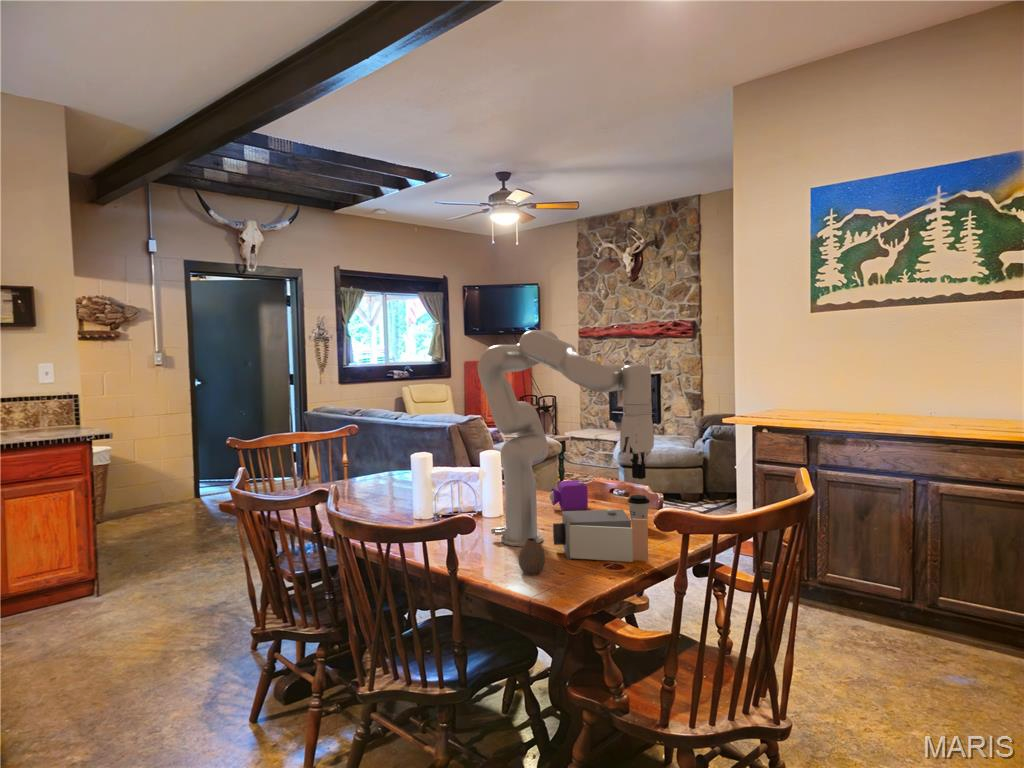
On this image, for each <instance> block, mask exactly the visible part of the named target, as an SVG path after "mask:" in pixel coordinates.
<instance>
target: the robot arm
mask: <svg viewBox="0 0 1024 768" xmlns="http://www.w3.org/2000/svg"><path fill="white" fill-rule="evenodd" d="M539 364H542V365H543V366H545V367H548V368H550V369H553V370H554V371H556V372H558V373H561V375H562V376H564V377H565V378H566V379H568V380H569V381H571V382H572V383H574V384H576V385H578V386H580V387H583V388H585V389H587V390H588V391H589V390H590V391H592V392H595V393H599V394H603V393H610V392H617V391H622V410H623V411H622V417H621V422H620V433H619V434H620V435H619V436H620V437H619V439H620V440H619V442H620V443H619V450H620V452H621V453H622V454H625V459H628V460H629V461H630V464H631V477H632V478H633V479H638V480H643V479H646V477H647V475H646V473H647V472H646V464H647V461H648V459H647V458H648V456H649V455H650V454H651V453H652V450H653V448H654V445H655V434H654V424H653V417H652V416H653V415H652V414H653V413H652V411H653V409H652V407H653V406H652V405H653V404H652V403H653V402H652V373H651V372H652V371H651V367H650V366H649V365H648V364H643V363H640V364H639V363H635V364H616V363H610V364H609V363H607V364H600V363H597V362H595V361H593V360H591V359H588V358H586V357H584V356H582V355H580V354H579V353H578V352H577V349H576V347H575V346H574V345H573V344H570V343H568V342H566V341H563V340H560V339H559V337H558V336H557V335H556V334H555V333H553V332H552V331H550V330H545V329H544V330H543V329H542V330H541V329H532V330H528V331H525V332H524V333H523V334H522V335H521V336H520V338H519V342H518V343H517V344H496V345H492V346H490V347H488V348H486V350H484V351H483V353H482V354H481V356H480V358H479V360H478V364H477V375H478V378H479V382H480V383H481V387H482V389H483V391H484V395H485V397H486V400H487V403H488V406H489V409H490V412H491V416H492V419H493V421H494V422H493V423H494V425H495V427H496V429H497V430H498V432H499V433H500V434H503V435H513V434H516V437H512V438H510V439H508V440H507V441H506V442H505V443H504V444H503V446H502V447H501V450H500V460H501V464H502V470H503V480H504V505H505V510H504V511H505V523H504V525H501V527H491V528H490V529H491V535H494V536H501V537H500V541H501V543H502V544H504V545H507V546H513V547H522V546H523V545H524V544H525V542H526V540H527V539H528V538H535V539H536V541H537V543H538V544H540V543H541V542H542V541H543V535H542V534H541V533H539V532H538V514H537V513H538V511H537V510H538V508H537V505H538V504H537V482H536V480H537V479H536V474H535V473H534V470H533V466H534V465H536V464H539V463H541V462H543V461H544V460H546V458H547V457H548V454H549V444H548V439H547V437H546V433H545V430H544V427H543V425H542V421H541V419H540V416H539V414H538V412H537V409H536V408H535V407H534V406H533V405H532V404H531V403H529V402H528V401H522V400H521V401H518V400H517V397H516V395H515V391H514V389H513V386H512V384H511V383H510V381H509V380H508V379H507V377H506V375H505V374H506V373H517V372H522V371H526V370H527V369H530V368H532V367H535V366H536V365H539Z"/></svg>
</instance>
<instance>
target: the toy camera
mask: <svg viewBox="0 0 1024 768" xmlns="http://www.w3.org/2000/svg"><path fill="white" fill-rule="evenodd" d="M588 492H589V491H588V486H587V484H586V483H585V482H583V481H582V480H562V481H559V482H558V484H557V489H556V488H554V487H551V489H550V493H549V499H550V501H551V504H552V506H555V505H556V504H559V506H560V508H561V509H562V511H586V510H587V509H588V506H589V500H588V499H589V497H588V495H589V494H588Z"/></svg>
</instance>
